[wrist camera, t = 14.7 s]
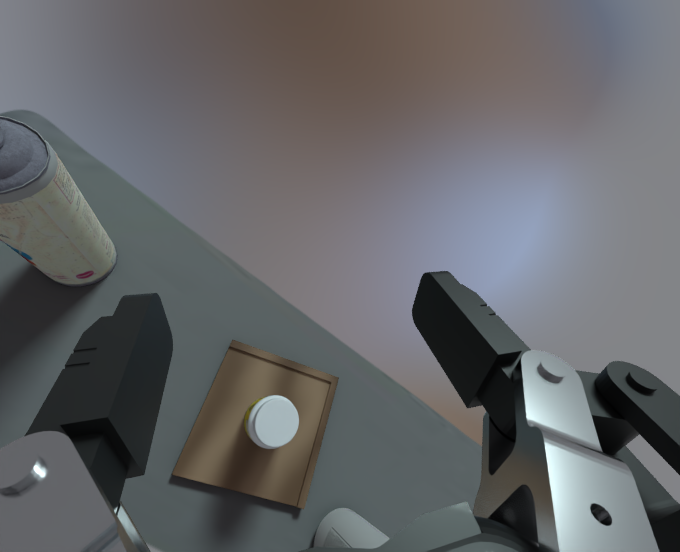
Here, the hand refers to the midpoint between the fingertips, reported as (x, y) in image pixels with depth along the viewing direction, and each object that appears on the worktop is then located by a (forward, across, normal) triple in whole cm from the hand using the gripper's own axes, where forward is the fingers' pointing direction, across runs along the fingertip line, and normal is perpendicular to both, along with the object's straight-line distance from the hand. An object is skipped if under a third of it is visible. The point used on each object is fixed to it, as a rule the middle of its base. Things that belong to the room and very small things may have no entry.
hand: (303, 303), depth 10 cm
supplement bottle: (+13, +2, +28) cm, 31 cm away
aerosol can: (+28, +21, +15) cm, 38 cm away
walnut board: (+13, +2, +28) cm, 31 cm away
